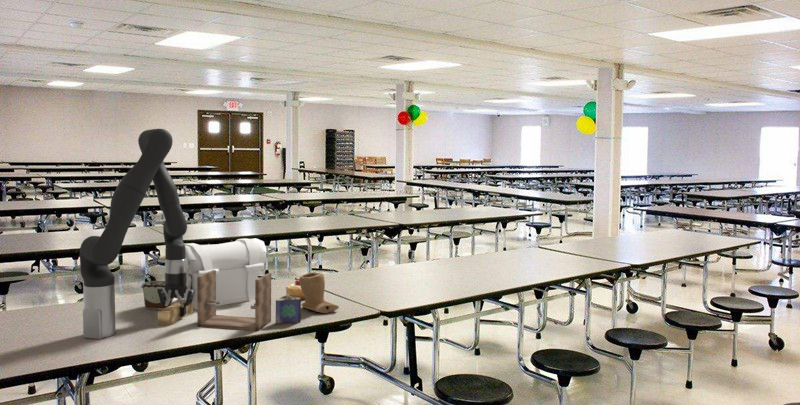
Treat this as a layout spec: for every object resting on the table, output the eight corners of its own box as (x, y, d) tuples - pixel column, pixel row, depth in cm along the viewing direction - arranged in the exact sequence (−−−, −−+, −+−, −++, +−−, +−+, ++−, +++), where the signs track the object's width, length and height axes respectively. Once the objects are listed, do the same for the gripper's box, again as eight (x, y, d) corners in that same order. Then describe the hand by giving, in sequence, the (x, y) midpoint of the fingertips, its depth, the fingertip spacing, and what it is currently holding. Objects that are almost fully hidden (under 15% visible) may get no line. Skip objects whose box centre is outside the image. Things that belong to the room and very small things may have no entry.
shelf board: (168, 326, 217) (168, 312, 216) (158, 325, 217) (157, 311, 217) (192, 312, 234) (192, 300, 234) (183, 312, 235) (183, 299, 235)
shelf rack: (258, 330, 212) (258, 280, 211) (197, 326, 216) (197, 276, 214) (271, 321, 224) (271, 273, 223) (213, 317, 228) (212, 270, 226)
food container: (178, 305, 243) (178, 281, 242) (171, 309, 237) (171, 284, 236) (149, 304, 244) (149, 279, 244) (141, 308, 238) (141, 283, 237)
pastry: (304, 293, 270) (305, 273, 270) (319, 298, 261) (319, 278, 261) (280, 296, 263) (281, 276, 262) (294, 301, 253) (294, 280, 253)
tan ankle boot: (293, 308, 243) (293, 271, 242) (318, 304, 251) (319, 268, 249) (313, 316, 232) (314, 278, 230) (339, 312, 239) (340, 274, 238)
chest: (245, 289, 274) (245, 234, 272) (271, 299, 257) (272, 241, 255) (168, 301, 250) (167, 241, 248) (192, 312, 234) (191, 249, 232)
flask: (275, 324, 220) (276, 295, 220) (274, 322, 223) (275, 293, 222) (301, 322, 223) (301, 294, 222) (300, 320, 226) (300, 292, 225)
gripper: (152, 271, 222) (152, 317, 223) (188, 273, 219) (189, 320, 221) (163, 267, 229) (163, 312, 231) (198, 269, 227) (199, 314, 228)
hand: (176, 315), depth 226 cm, fingers open, 4 cm apart
